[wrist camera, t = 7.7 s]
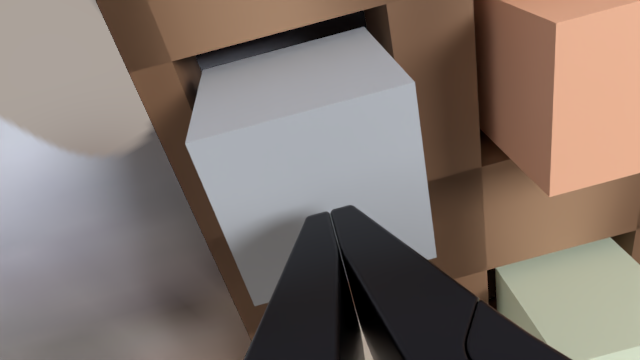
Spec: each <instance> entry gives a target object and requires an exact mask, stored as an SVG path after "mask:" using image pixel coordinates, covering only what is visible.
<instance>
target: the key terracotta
mask: <svg viewBox="0 0 640 360" xmlns="http://www.w3.org/2000/svg"><path fill="white" fill-rule="evenodd" d="M473 8H474V27H475V47H476V66H477V86H478V105H479V125H480V129H481V130H482V131H483V132H484V133H485V134H486V135H487V136H488V137H489V138H490V139H491V140H492V141H493V142H494V143H495V144H496V145H497V146H498V147H499V148H500V149H501V150H502V151H503V152H504V153H505V154H506V155H507V156H508V157H509V158H510V159H511V160H512V161H513V162H514V163H515V164H516V165H517V166H518V167H519V168H520V169H521V170H522V171H523V172H524V173H525V174H526V175H527V176H528V177H529V178H530V179H531V180H533V181H534V182H535V183H536V184H537V185H538V186H539V187H540V188H541V189H542V190H543V191H544V192H545V193H546V194H547V195H548V196H549V197H552V196H556V195H560V194H563V193H567V192H571V191H575V190H578V189H582V188H586V187H589V186H593V185H597V184H601V183H604V182H608V181H612V180H616V179H619V178H623V177H627V176H630V175H634V174H638V173H640V0H473Z"/></svg>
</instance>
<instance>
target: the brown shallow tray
mask: <svg viewBox="0 0 640 360" xmlns="http://www.w3.org/2000/svg"><path fill="white" fill-rule="evenodd" d="M96 2H97V5H98V7H99V9H100V11H101V13H102V15H103V18H104V20H105V22H106V24H107V26H108V29H109V31H110V33H111V35H112V37H113V39H114V42H115V44H116V46H117V48H118V50H119V52H120V55H121V57H122V59H123V61H124V63H125V66H126V68H127V70H128V72H129V74H130V76H131V79H132V81H133V83H134V85H135V87H136V90H137V92H138V94H139V96H140V98H141V101H142V102H143V105H144V107H145V109H146V112H147V114H148V116H149V118H150V120H151V122H152V125H153V127H154V129H155V131H156V133H157V136H158V138H159V140H160V142H161V144H162V146H163V149H164V151H165V153H166V155H167V157H168V160H169V162H170V164H171V166H172V168H173V170H174V173H175V175H176V177H177V179H178V181H179V184H180V186H181V188H182V190H183V192H184V194H185V197H186V199H187V201H188V203H189V205H190V208H191V210H192V212H193V214H194V216H195V219H196V221H197V223H198V225H199V227H200V229H201V232H202V234H203V236H204V238H205V240H206V243H207V245H208V247H209V249H210V251H211V253H212V256H213V258H214V260H215V262H216V264H217V267H218V269H219V271H220V273H221V275H222V277H223V280H224V282H225V284H226V286H227V288H228V291H229V293H230V295H231V297H232V299H233V301H234V304H235V306H236V308H237V310H238V312H239V315H240V317H241V319H242V321H243V323H244V325H245V328H246V330H247V332H248V334H249V336H250V339H251V341H252V340H253V337H254V335H255V333H256V331H257V328H258V326H259V324H260V321H261V319H262V317H263V315H264V312H265V310H266V308H267V305H268V303H265V304H261V305H257V306H254V304H253V301H252V299H251V297H250V294H249V292H248V290H247V287H246V285H245V283H244V280H243V278H242V276H241V273H240V271H239V269H238V266H237V264H236V262H235V259H234V257H233V255H232V252H231V250H230V248H229V245H228V243H227V241H226V238H225V236H224V234H223V231H222V229H221V227H220V224H219V222H218V219H217V217H216V215H215V212H214V210H213V208H212V205H211V203H210V201H209V198H208V196H207V194H206V191H205V189H204V187H203V184H202V182H201V180H200V177H199V175H198V173H197V170H196V168H195V166H194V163H193V161H192V159H191V156H190V154H189V152H188V149H187V147H186V145H185V142H186V137H187V133H188V129H189V125H190V121H191V116H192V112H193V108H194V104H195V100H196V96H197V91H198V87H199V83H200V79H201V75H202V72H201V70H200V67H199V64H198V62H197V59H196V56H195V55H198V54H202V53H205V52H209V51H213V50H217V49H220V48H224V47H228V46H232V45H235V44H239V43H243V42H246V41H250V40H254V39H258V38H261V37H265V36H269V35H273V34H276V33H280V32H284V31H288V30H291V29H295V28H299V27H302V26H306V25H310V24H314V23H317V22H321V21H325V20H329V19H332V18H336V17H340V16H343V15H347V14H351V13H355V12H358V11H362V10H364V16H365V21H366V27H367V31H368V32H369V33H370V34H371V35H372V36H373V37H374V38H375V39H376V40H377V41H378V42H379V44H380V45H381V46H382V47H383V48H384V49H385V50H386V51H387V52H388V53H389V54H390V56H391V57H392V58H393V59H394V60H395V61H396V62H397V63H398V64H399V65H400V66H401V67H402V69H403V70H404V71H405V72H406V73H407V74H408V75H409V76H410V77H411V78H412V79H413V81H414V82H415V87H416V95H417V103H418V111H419V119H420V127H421V135H422V143H423V151H424V159H425V167H426V175H427V183H428V191H429V199H430V207H431V215H432V223H433V231H434V239H435V247H436V255H437V258H433V259H429V260H428V261H430V262H431V263H433V264H434V265H435V266H437V267H438V268H439V269H441V270H442V271H443V272H445V273H446V274H448V275H449V276H450V277H452V278H453V279H454V280H456V281H457V282H458V283H460V284H461V285H463V286H464V287H465V288H467V289H468V290H469V291H471V292H472V293H473V294H475V295H476V296H478V298H479V300H483V301H485V302H486V303H487V304H489V305H490V306H491V307H493V308H494V309H495V310H497V298H495V299H491V300H488V281H487V270H490V269H493V268H497V267H501V266H505V265H508V264H512V263H516V262H520V261H523V260H527V259H531V258H534V257H538V256H542V255H546V254H549V253H553V252H557V251H561V250H564V249H568V248H572V247H576V246H579V245H583V244H587V243H590V242H594V241H598V240H602V239H605V238H609V237H610V238H612V239H613V240H614V241H615V242H616V243H617V244H618V245H619V246H620V247H621V248H622V249H623V250H624V251H625V252H627V253H628V254H629V255H630V256H631V257H632V258H633V259H634V260H635V261H636V262H637V263H638V264H639V265H640V173H638V174H634V175H630V176H627V177H623V178H619V179H616V180H612V181H608V182H604V183H601V184H597V185H593V186H589V187H586V188H582V189H578V190H575V191H571V192H567V193H563V194H560V195H556V196H552V197H549V196H548V195H547V194H546V193H545V192H544V191H543V190H542V189H541V188H540V187H539V186H538V185H537V184H536V183H535V182H534V181H533V180H531V179H530V178H529V177H528V176H527V175H526V174H525V173H524V172H523V171H522V170H521V169H520V168H519V167H518V166H517V165H516V164H515V163H514V162H513V161H512V160H511V159H510V158H509V157H508V156H507V155H506V154H505V153H504V152H503V151H502V150H501V149H500V148H499V147H498V146H497V145H496V144H495V143H494V142H493V141H492V140H491V139H490V138H489V137H488V136H487V135H486V134H485V133H484V132H483V131H482V130H481V129H480V125H479V105H478V86H477V66H476V47H475V27H474V8H473V0H96ZM348 283H349V282H348ZM349 287H350V286H349ZM350 291H351V290H350ZM351 295H352V293H351ZM352 298H353V297H352ZM353 302H354V301H353ZM354 306H355V305H354Z"/></svg>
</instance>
